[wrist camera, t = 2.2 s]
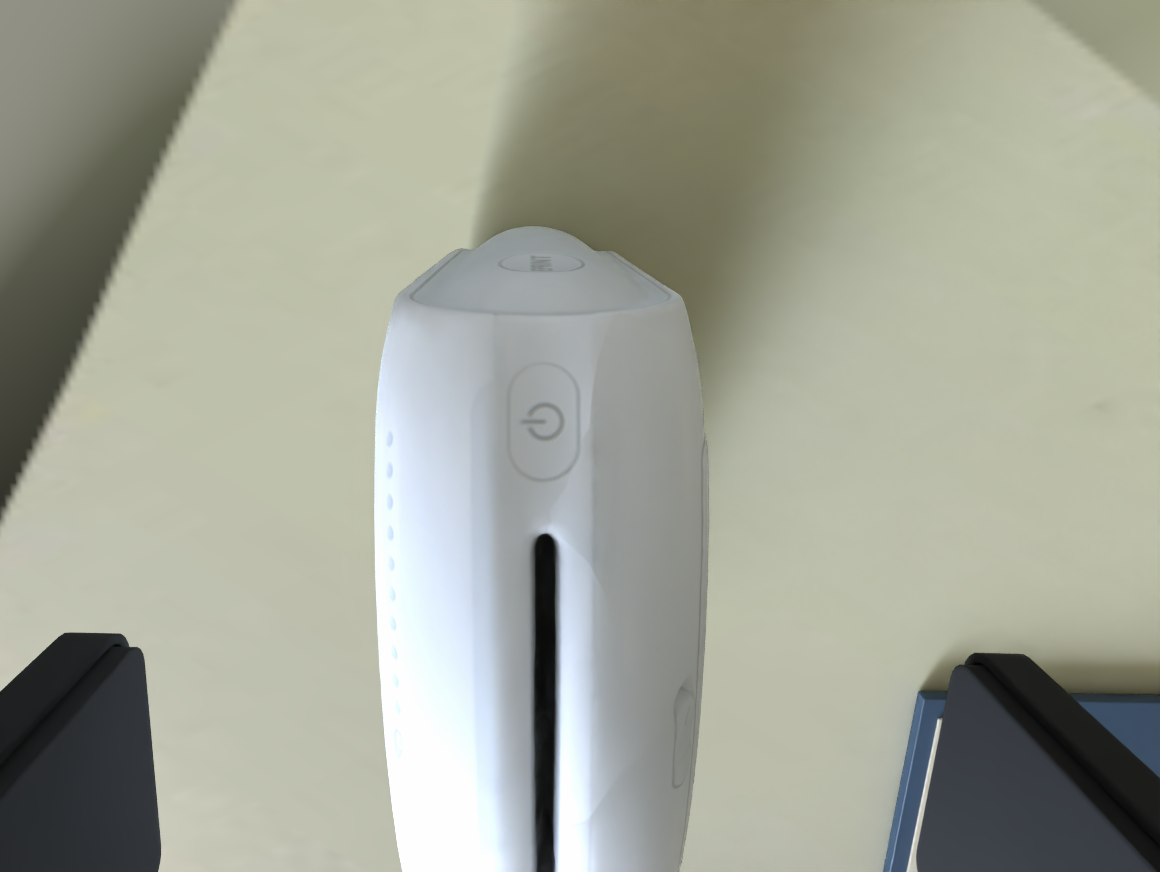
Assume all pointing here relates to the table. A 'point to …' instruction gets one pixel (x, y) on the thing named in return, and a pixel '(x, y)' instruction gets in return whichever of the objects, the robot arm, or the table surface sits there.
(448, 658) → the photo printer
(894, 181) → the table surface
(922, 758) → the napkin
